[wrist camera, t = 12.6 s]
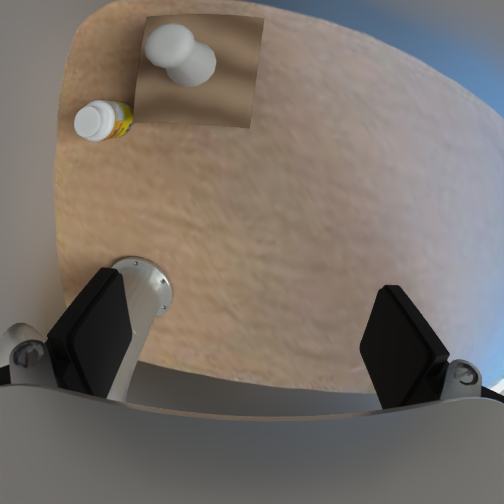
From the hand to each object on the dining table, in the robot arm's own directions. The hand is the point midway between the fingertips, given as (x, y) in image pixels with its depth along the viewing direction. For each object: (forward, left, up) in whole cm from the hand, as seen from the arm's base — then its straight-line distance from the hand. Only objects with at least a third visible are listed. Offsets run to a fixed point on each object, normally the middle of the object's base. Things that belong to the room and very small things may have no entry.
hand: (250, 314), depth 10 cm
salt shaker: (+13, +8, -29) cm, 32 cm away
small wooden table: (+13, +8, -34) cm, 38 cm away
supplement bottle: (+6, +21, -35) cm, 41 cm away
